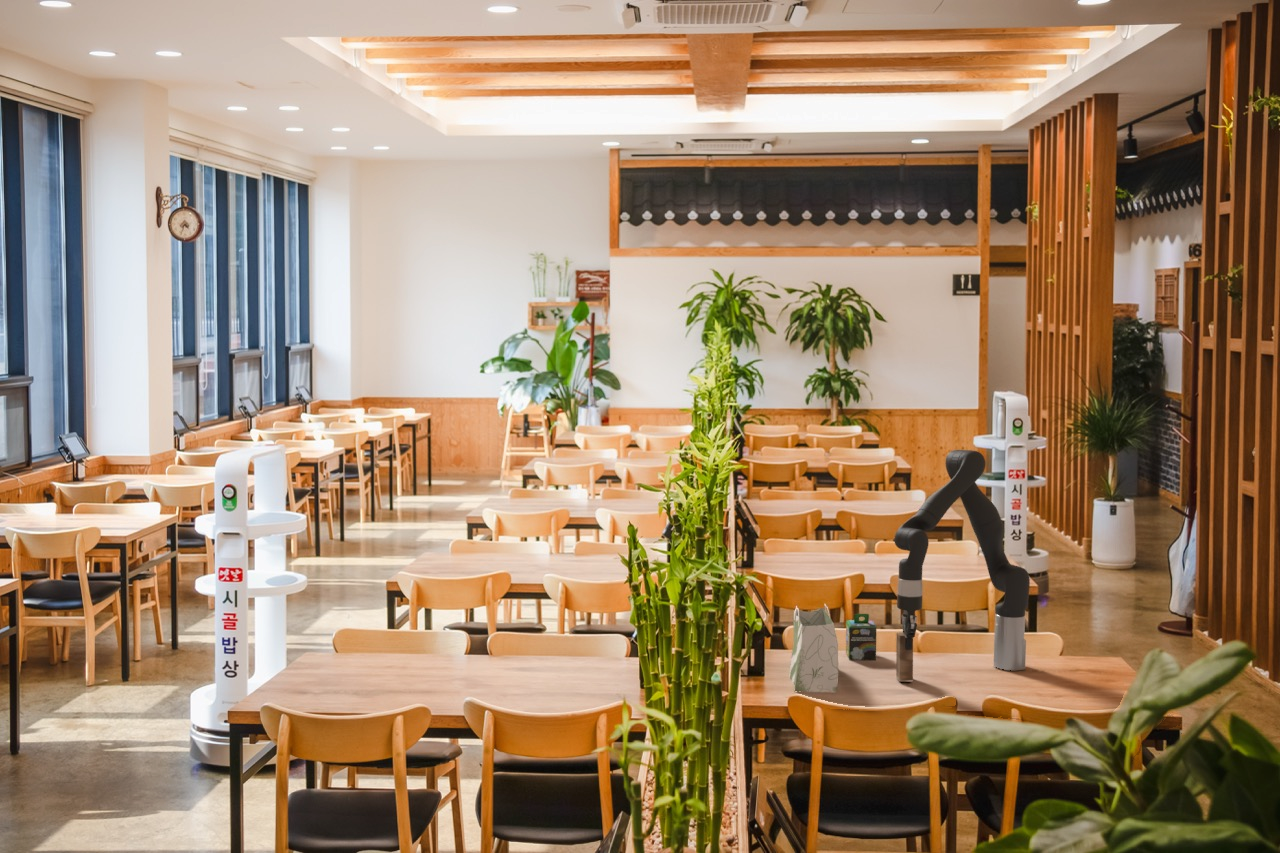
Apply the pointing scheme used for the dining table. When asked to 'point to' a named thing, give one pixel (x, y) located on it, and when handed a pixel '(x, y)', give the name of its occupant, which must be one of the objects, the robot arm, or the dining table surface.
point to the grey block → (903, 660)
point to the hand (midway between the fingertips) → (908, 649)
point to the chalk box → (861, 638)
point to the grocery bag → (814, 652)
